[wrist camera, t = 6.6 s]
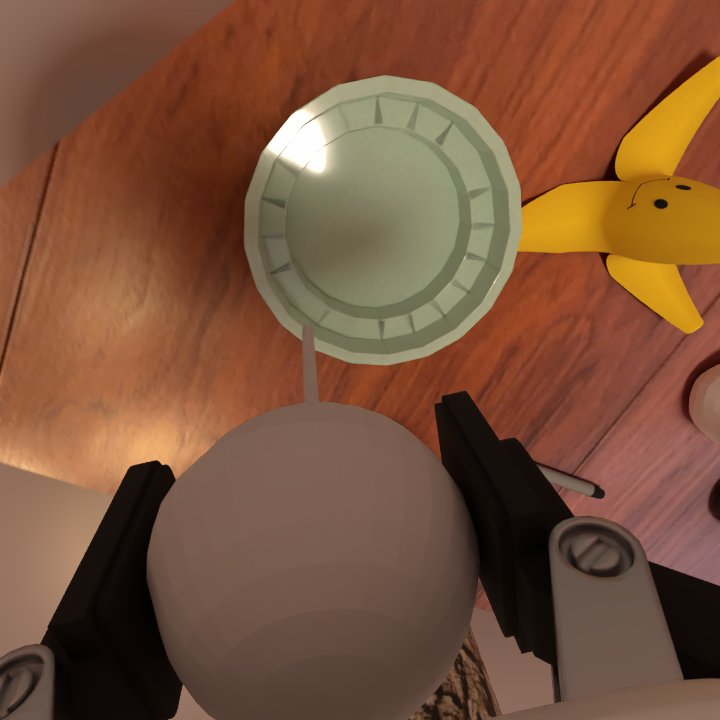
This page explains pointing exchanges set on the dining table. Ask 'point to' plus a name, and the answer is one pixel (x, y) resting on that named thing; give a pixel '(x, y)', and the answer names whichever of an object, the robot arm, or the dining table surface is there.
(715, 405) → the cat figurine
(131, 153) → the dining table surface
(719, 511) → the mug
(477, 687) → the paper tube
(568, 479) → the pen
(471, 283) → the bowl
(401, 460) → the lollipop
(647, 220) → the banana peel
